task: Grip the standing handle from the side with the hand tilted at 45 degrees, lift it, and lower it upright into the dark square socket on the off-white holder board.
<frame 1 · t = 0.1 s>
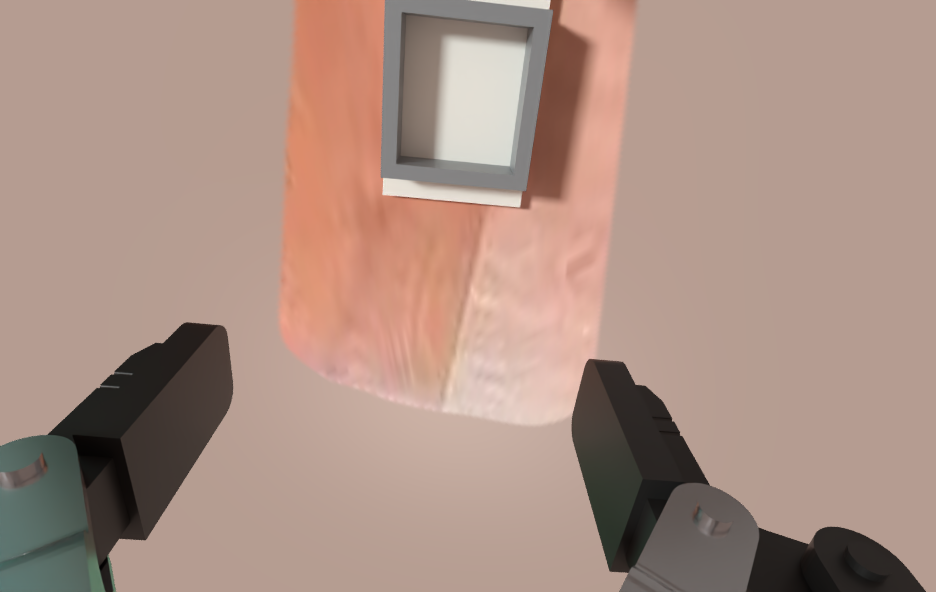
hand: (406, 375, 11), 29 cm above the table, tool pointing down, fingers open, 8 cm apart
holder: (461, 94, 36), on the table
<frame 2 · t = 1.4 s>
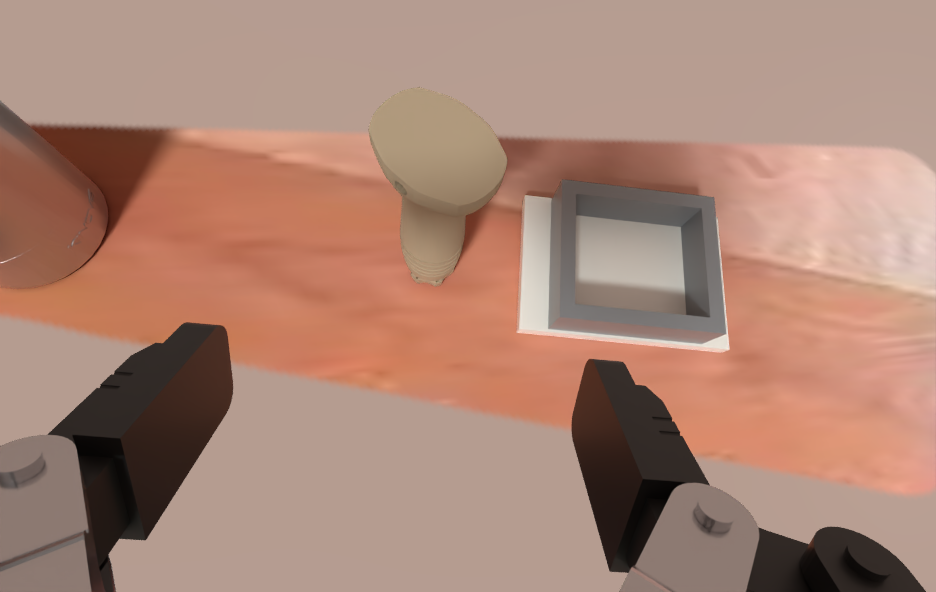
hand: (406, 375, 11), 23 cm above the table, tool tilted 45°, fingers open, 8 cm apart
holder: (618, 274, 38), on the table
handle: (430, 268, 37), on the table
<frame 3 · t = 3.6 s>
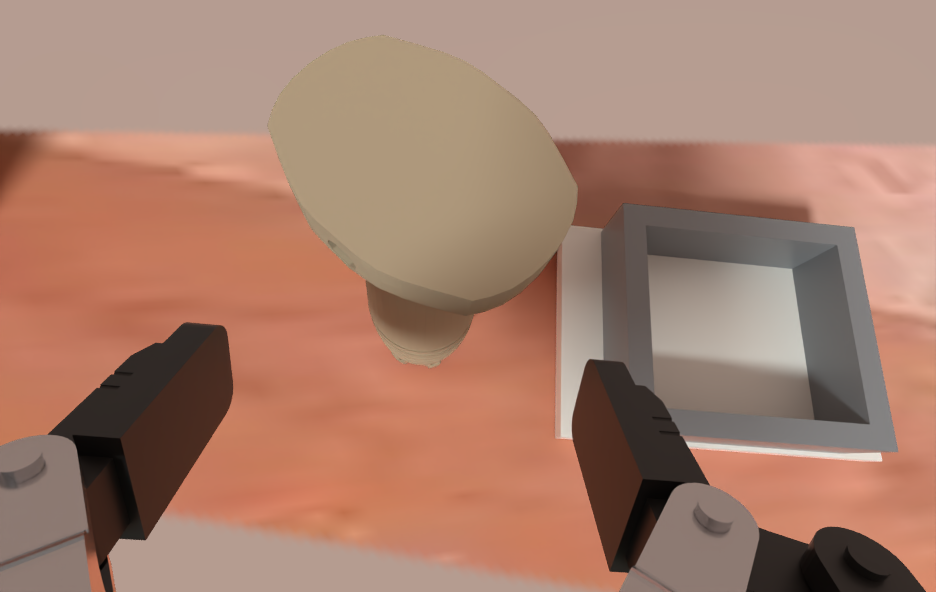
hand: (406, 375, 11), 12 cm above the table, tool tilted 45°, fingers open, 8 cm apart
holder: (703, 341, 25), on the table
handle: (421, 338, 24), on the table
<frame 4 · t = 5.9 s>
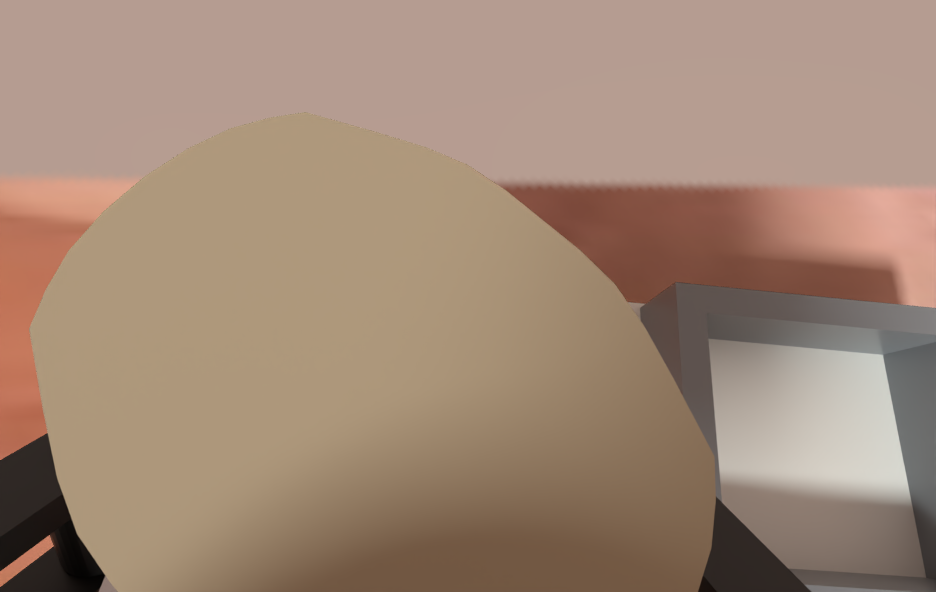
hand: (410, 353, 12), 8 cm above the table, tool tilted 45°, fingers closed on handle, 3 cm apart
holder: (771, 450, 20), on the table
handle: (410, 449, 19), on the table, touching gripper
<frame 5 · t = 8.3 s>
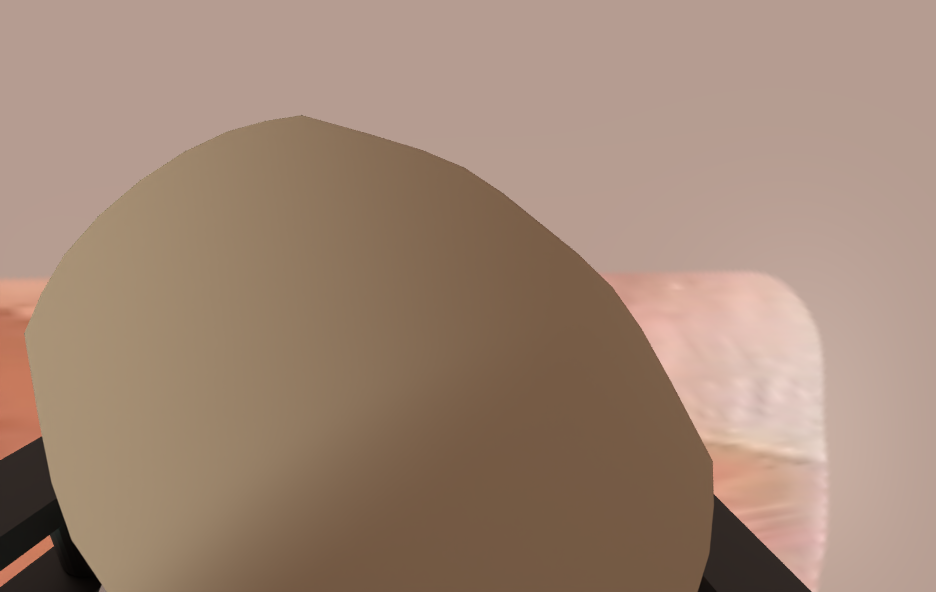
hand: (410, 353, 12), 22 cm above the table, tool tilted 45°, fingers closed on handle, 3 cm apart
handle: (410, 450, 19), point 15 cm above the table, touching gripper
when the fingers open (10 cm above the table, at t = 11.0 s): handle drops 1 cm, resting on holder.
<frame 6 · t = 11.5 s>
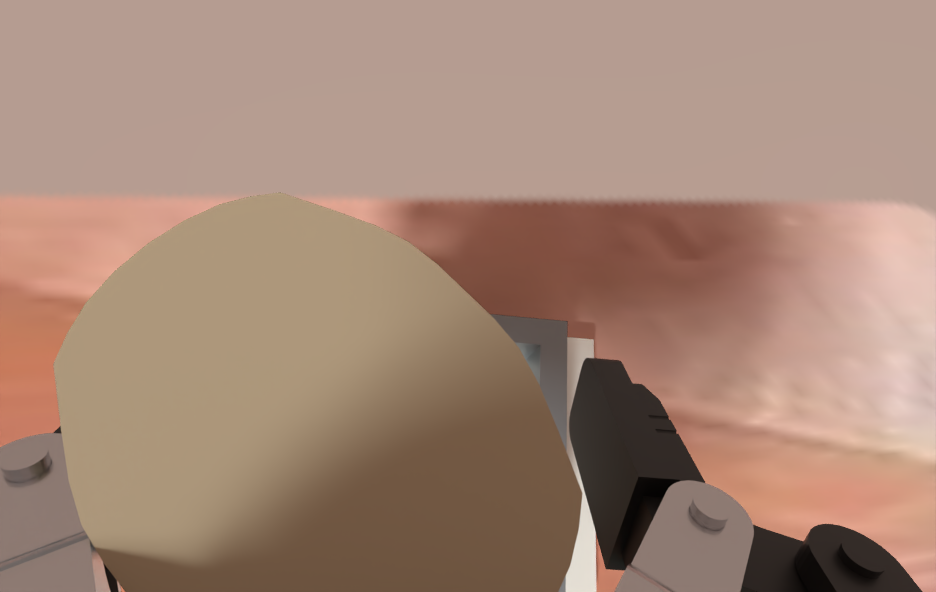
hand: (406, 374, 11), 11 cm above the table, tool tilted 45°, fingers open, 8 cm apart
holder: (410, 450, 21), on the table
handle: (393, 453, 20), point 1 cm above the table, touching holder
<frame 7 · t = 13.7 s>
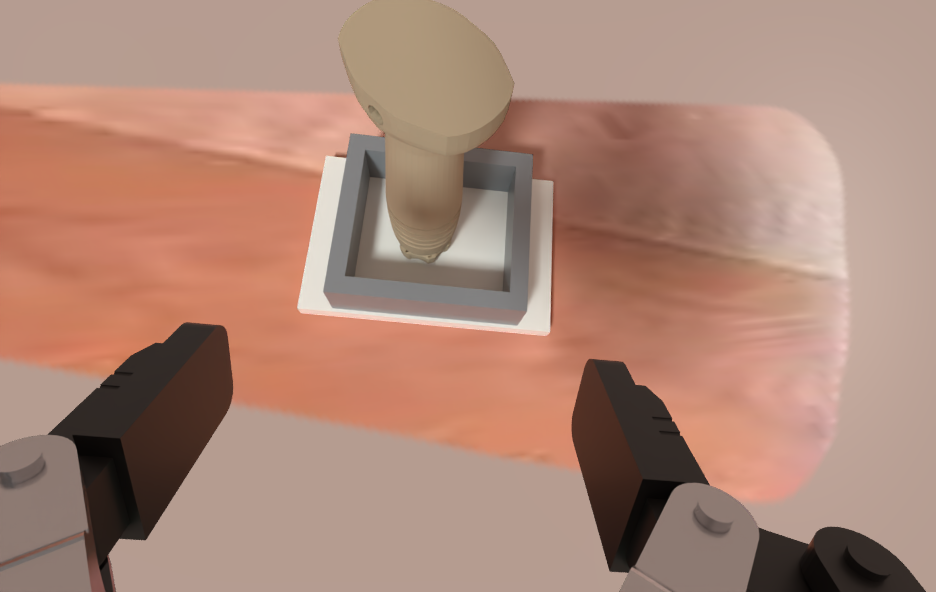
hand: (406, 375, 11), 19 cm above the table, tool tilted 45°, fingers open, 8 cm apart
holder: (433, 246, 33), on the table
handle: (423, 243, 32), point 1 cm above the table, touching holder
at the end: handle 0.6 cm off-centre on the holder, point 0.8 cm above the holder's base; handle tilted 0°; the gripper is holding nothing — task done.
